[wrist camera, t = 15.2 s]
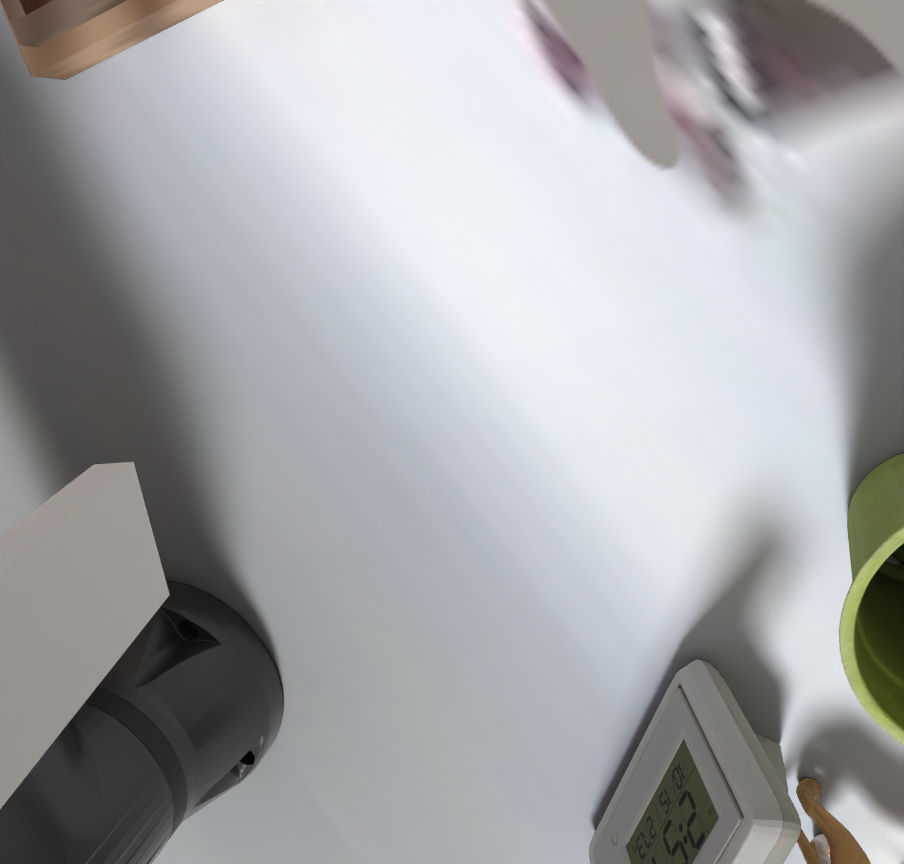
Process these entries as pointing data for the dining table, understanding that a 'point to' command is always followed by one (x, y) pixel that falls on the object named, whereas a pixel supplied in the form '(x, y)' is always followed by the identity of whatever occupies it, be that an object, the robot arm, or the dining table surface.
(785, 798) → the digital clock
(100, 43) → the walnut base plate
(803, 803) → the lion figurine
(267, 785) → the dining table surface
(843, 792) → the dining table surface
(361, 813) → the dining table surface
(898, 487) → the plant pot
